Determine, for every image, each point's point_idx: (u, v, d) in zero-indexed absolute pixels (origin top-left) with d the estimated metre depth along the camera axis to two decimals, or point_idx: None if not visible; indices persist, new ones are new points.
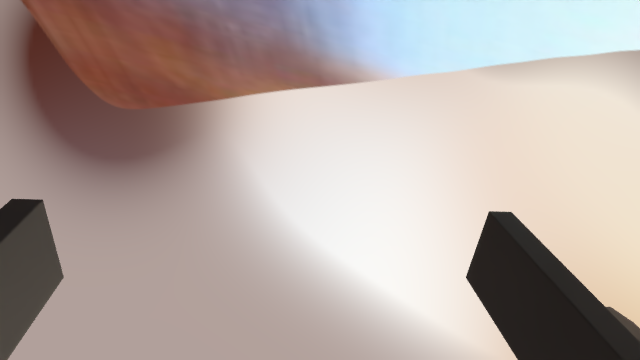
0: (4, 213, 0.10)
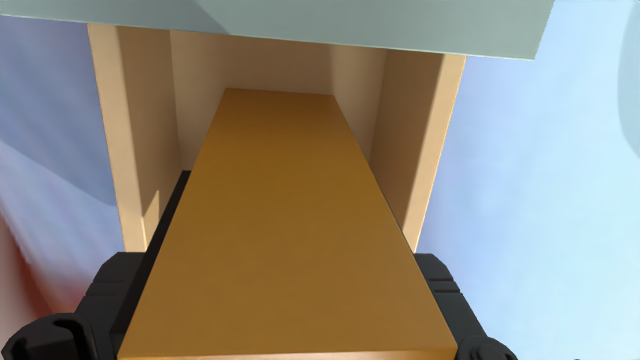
0: (185, 180, 0.12)
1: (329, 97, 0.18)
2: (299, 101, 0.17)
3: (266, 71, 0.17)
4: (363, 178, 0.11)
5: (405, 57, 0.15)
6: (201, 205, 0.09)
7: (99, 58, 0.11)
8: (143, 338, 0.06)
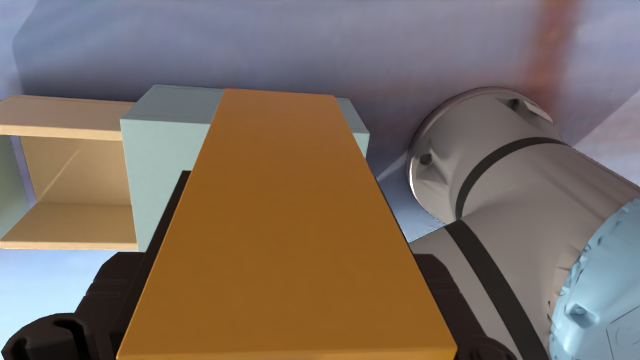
0: (185, 180, 0.12)
1: (329, 97, 0.18)
2: (299, 102, 0.17)
3: None
4: (363, 178, 0.11)
5: None
6: (201, 206, 0.09)
7: (111, 133, 0.28)
8: (142, 339, 0.06)
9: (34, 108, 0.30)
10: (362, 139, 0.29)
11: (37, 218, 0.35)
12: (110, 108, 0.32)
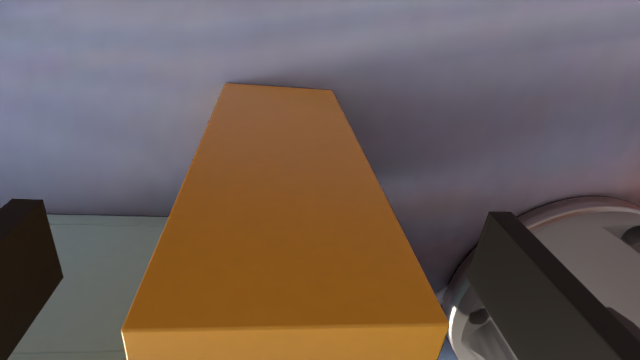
0: (5, 213, 0.10)
1: (327, 92, 0.18)
2: (298, 96, 0.17)
3: None
4: (360, 168, 0.11)
5: None
6: (201, 193, 0.09)
7: None
8: (146, 314, 0.06)
9: None
10: None
11: None
12: None
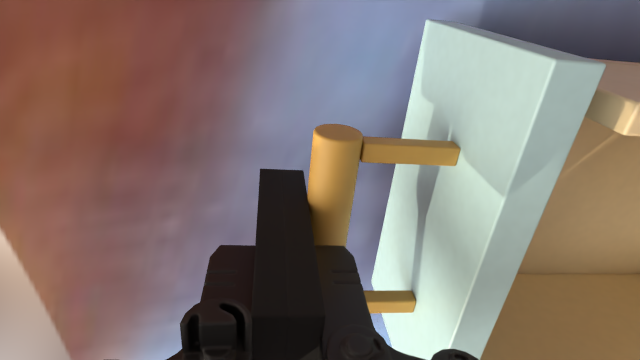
0: (266, 178, 0.13)
1: None
2: None
3: None
4: None
5: None
6: None
7: None
8: None
9: (626, 74, 0.12)
10: None
11: None
12: None
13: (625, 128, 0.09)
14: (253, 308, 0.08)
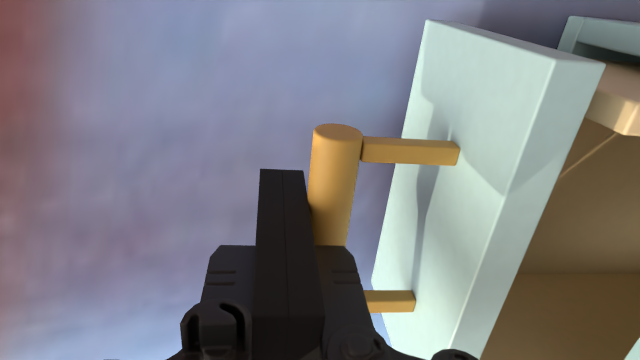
0: (266, 178, 0.13)
1: None
2: None
3: None
4: None
5: None
6: None
7: None
8: None
9: (626, 74, 0.12)
10: None
11: None
12: None
13: (625, 128, 0.09)
14: (253, 308, 0.08)
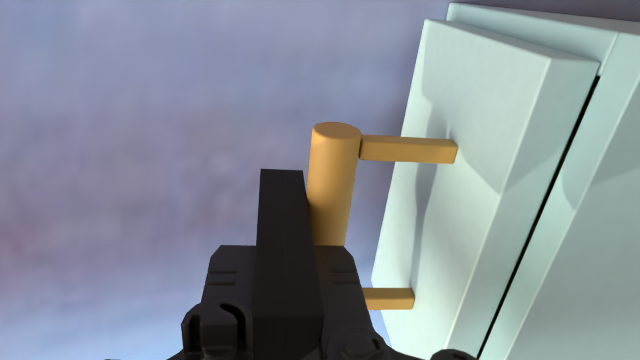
0: (266, 178, 0.13)
1: None
2: None
3: None
4: None
5: None
6: None
7: None
8: None
9: None
10: None
11: None
12: None
13: None
14: (254, 308, 0.08)
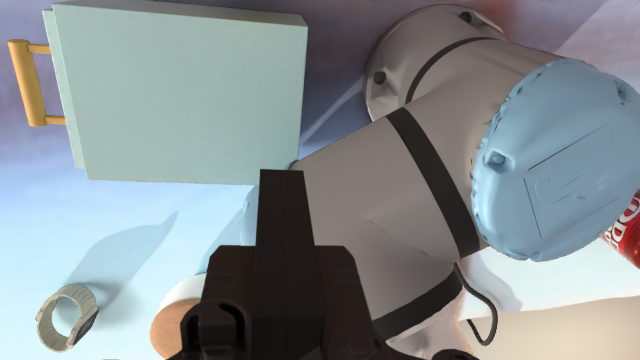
0: (266, 178, 0.13)
1: None
2: None
3: None
4: None
5: None
6: None
7: None
8: None
9: None
10: (301, 33, 0.29)
11: None
12: None
13: None
14: (253, 308, 0.08)
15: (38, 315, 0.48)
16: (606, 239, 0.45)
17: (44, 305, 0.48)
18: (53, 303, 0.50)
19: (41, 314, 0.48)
